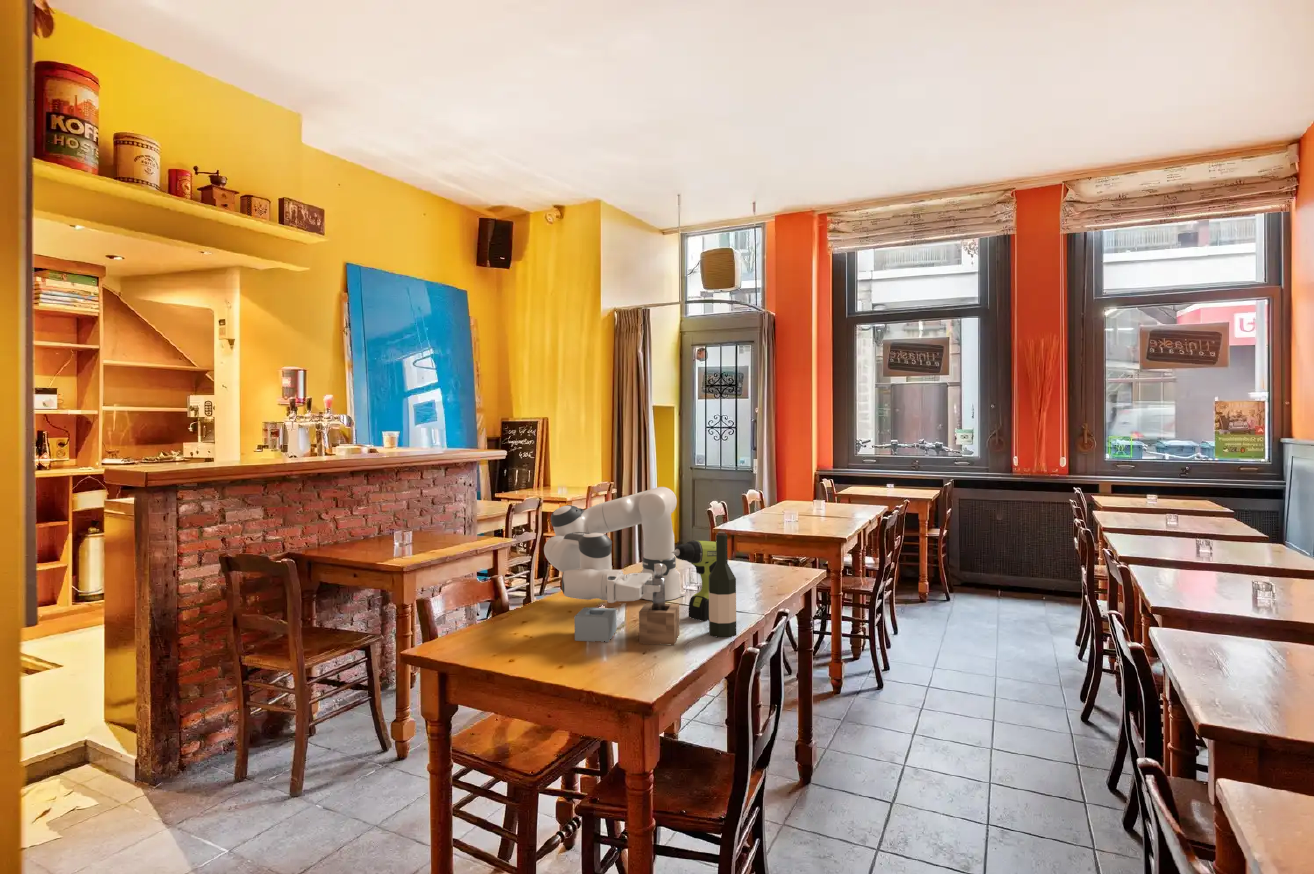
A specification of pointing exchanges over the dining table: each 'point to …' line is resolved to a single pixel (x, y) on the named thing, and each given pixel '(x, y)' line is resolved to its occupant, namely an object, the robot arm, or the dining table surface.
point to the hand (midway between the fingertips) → (662, 586)
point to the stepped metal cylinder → (660, 580)
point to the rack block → (659, 624)
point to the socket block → (595, 624)
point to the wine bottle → (722, 593)
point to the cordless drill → (704, 561)
